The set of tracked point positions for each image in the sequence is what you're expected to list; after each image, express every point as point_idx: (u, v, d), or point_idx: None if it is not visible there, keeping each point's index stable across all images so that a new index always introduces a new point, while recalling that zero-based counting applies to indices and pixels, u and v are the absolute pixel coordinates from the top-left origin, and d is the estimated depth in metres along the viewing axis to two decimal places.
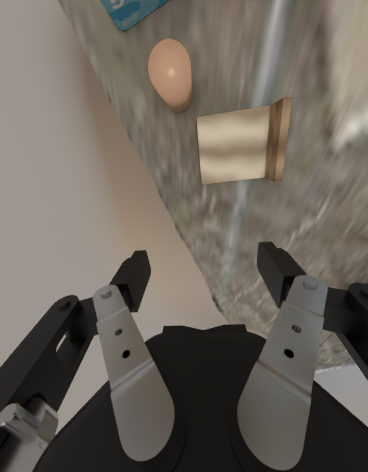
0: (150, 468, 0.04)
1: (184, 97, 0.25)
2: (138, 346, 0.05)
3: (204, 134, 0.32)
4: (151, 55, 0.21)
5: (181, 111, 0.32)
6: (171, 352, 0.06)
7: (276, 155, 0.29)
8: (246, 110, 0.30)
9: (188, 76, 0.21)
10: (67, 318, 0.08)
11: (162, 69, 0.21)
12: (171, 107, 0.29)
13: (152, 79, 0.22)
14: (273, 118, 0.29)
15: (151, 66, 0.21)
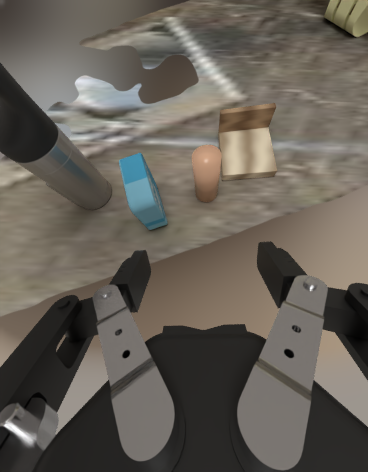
0: (150, 468, 0.04)
1: None
2: (139, 346, 0.05)
3: (235, 170, 0.40)
4: (198, 166, 0.30)
5: None
6: (171, 352, 0.06)
7: (255, 112, 0.39)
8: (220, 145, 0.43)
9: (211, 146, 0.31)
10: (67, 318, 0.08)
11: (206, 160, 0.30)
12: (217, 186, 0.37)
13: (211, 167, 0.30)
14: (228, 125, 0.42)
15: (204, 167, 0.30)
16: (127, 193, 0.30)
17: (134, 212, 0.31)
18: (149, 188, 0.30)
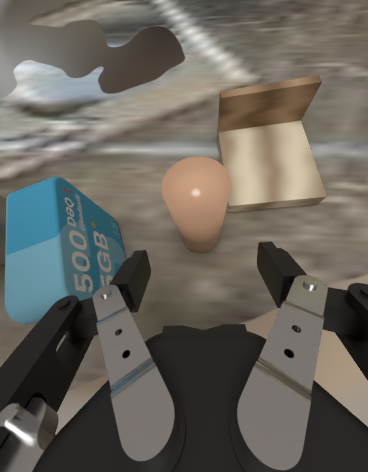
0: (150, 468, 0.04)
1: None
2: (138, 346, 0.05)
3: (250, 195, 0.23)
4: (176, 210, 0.12)
5: None
6: (171, 352, 0.06)
7: (283, 92, 0.22)
8: (222, 152, 0.26)
9: (206, 159, 0.13)
10: (67, 318, 0.08)
11: (195, 194, 0.13)
12: (220, 231, 0.20)
13: (207, 211, 0.12)
14: (234, 118, 0.25)
15: (189, 211, 0.12)
16: (7, 279, 0.13)
17: (27, 323, 0.13)
18: (58, 267, 0.12)
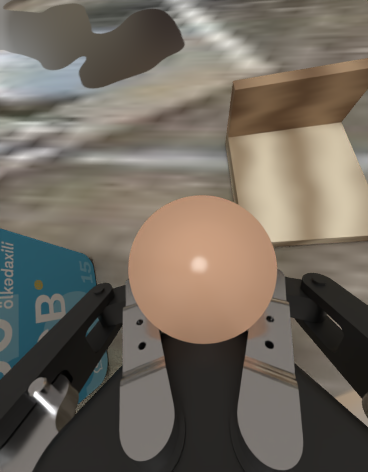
0: (142, 468, 0.04)
1: None
2: (154, 341, 0.06)
3: (275, 229, 0.16)
4: (157, 321, 0.06)
5: None
6: (171, 352, 0.06)
7: (325, 82, 0.15)
8: (234, 165, 0.19)
9: (221, 202, 0.07)
10: (99, 305, 0.08)
11: (198, 284, 0.06)
12: None
13: (225, 331, 0.05)
14: (251, 119, 0.18)
15: (186, 327, 0.06)
16: None
17: None
18: None
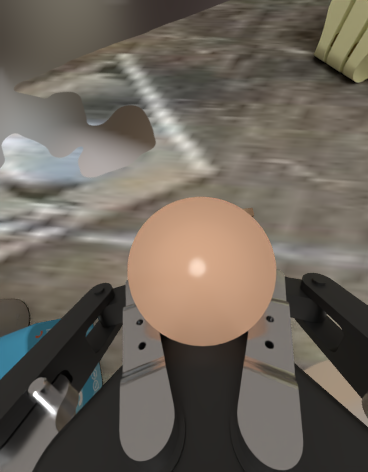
0: (142, 468, 0.04)
1: None
2: (154, 341, 0.06)
3: None
4: (156, 323, 0.06)
5: None
6: (171, 352, 0.06)
7: None
8: None
9: (220, 203, 0.07)
10: (99, 306, 0.08)
11: (197, 286, 0.06)
12: None
13: (224, 333, 0.05)
14: None
15: (185, 329, 0.06)
16: None
17: None
18: None
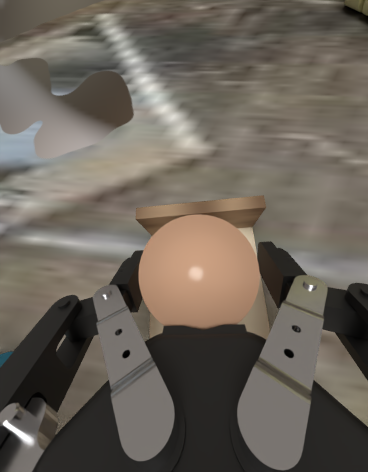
0: (150, 468, 0.04)
1: None
2: (138, 346, 0.05)
3: None
4: (162, 319, 0.07)
5: None
6: (171, 352, 0.06)
7: (217, 214, 0.16)
8: None
9: (215, 220, 0.08)
10: (67, 318, 0.08)
11: (195, 289, 0.07)
12: None
13: None
14: None
15: (186, 324, 0.07)
16: None
17: None
18: None
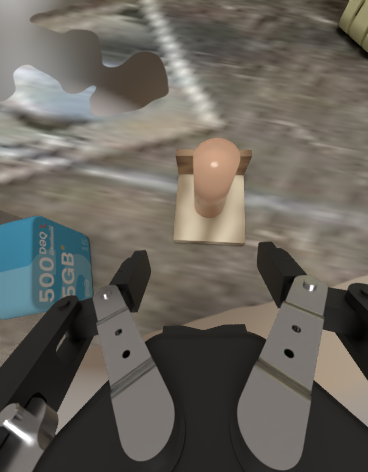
0: (150, 468, 0.04)
1: None
2: (139, 346, 0.05)
3: (190, 233, 0.30)
4: (202, 172, 0.19)
5: None
6: (171, 352, 0.06)
7: None
8: (178, 193, 0.32)
9: (225, 141, 0.20)
10: (67, 318, 0.08)
11: (215, 163, 0.19)
12: None
13: (222, 175, 0.19)
14: (189, 168, 0.31)
15: (211, 174, 0.19)
16: None
17: (5, 319, 0.20)
18: (28, 286, 0.19)
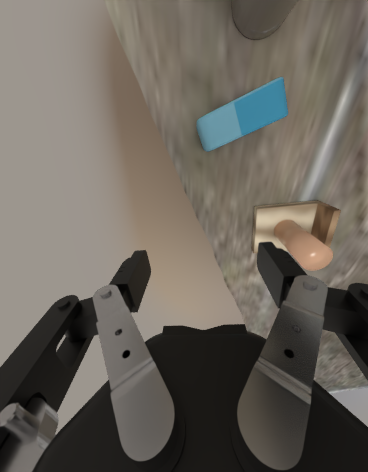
0: (150, 468, 0.04)
1: None
2: (138, 346, 0.05)
3: (261, 220, 0.40)
4: (306, 252, 0.30)
5: None
6: (171, 352, 0.06)
7: None
8: (298, 205, 0.38)
9: (328, 262, 0.31)
10: (67, 318, 0.08)
11: (311, 258, 0.30)
12: None
13: (302, 262, 0.31)
14: (321, 215, 0.37)
15: (304, 256, 0.30)
16: (219, 110, 0.23)
17: (197, 123, 0.25)
18: (225, 142, 0.25)
